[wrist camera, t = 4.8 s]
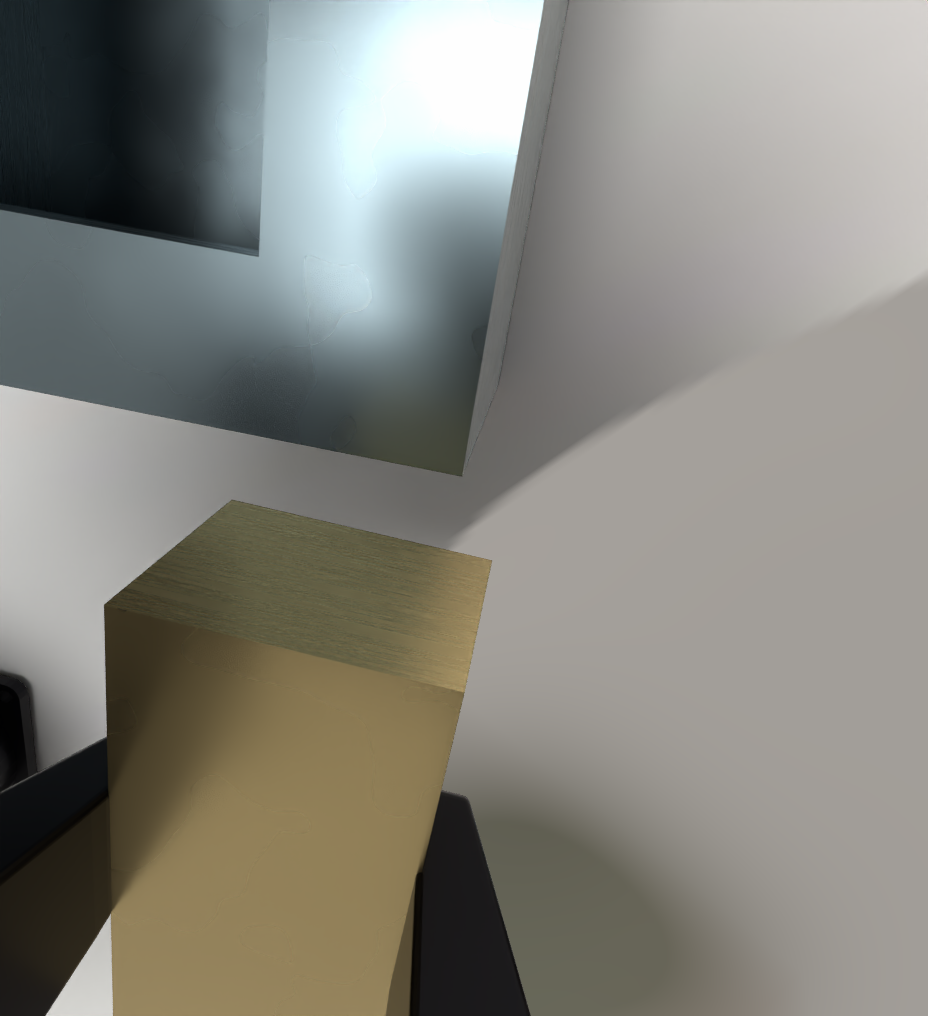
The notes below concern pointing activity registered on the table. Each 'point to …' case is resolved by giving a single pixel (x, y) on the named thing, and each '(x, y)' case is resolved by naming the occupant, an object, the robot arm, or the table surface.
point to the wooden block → (277, 760)
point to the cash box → (272, 210)
